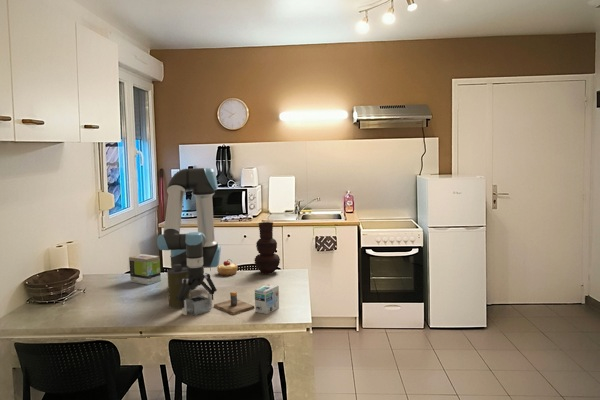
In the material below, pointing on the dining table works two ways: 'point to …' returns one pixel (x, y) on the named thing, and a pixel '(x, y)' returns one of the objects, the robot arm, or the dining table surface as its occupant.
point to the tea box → (145, 269)
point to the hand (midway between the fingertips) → (197, 310)
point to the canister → (176, 284)
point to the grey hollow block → (197, 305)
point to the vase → (266, 249)
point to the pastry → (227, 268)
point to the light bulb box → (266, 298)
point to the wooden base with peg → (234, 305)
